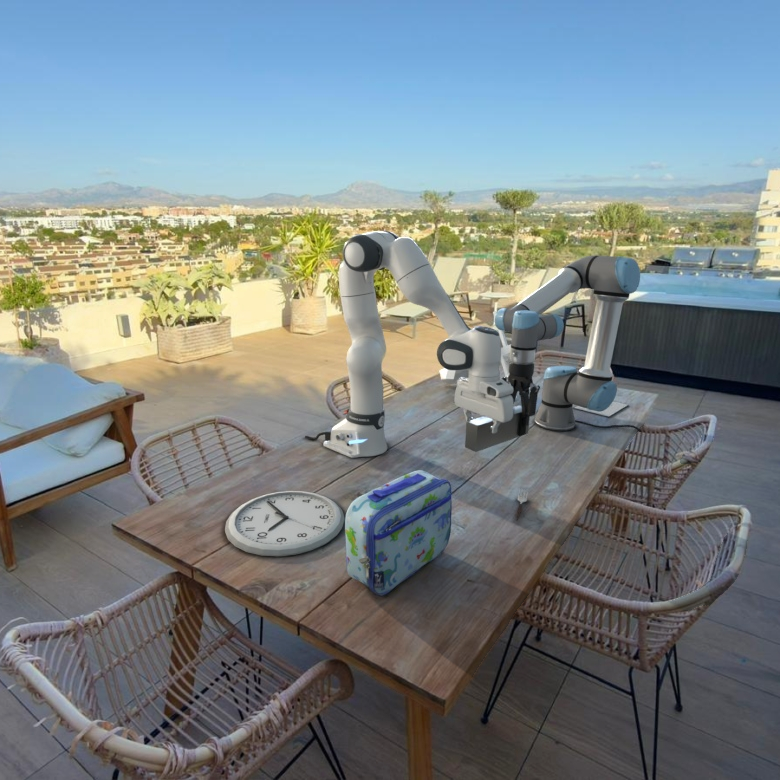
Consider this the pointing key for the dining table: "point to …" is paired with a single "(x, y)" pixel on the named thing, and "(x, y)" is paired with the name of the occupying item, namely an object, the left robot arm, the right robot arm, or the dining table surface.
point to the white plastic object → (454, 375)
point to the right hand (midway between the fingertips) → (515, 432)
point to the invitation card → (609, 411)
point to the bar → (483, 438)
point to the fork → (521, 499)
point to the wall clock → (284, 523)
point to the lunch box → (397, 529)
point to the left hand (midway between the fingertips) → (481, 427)
